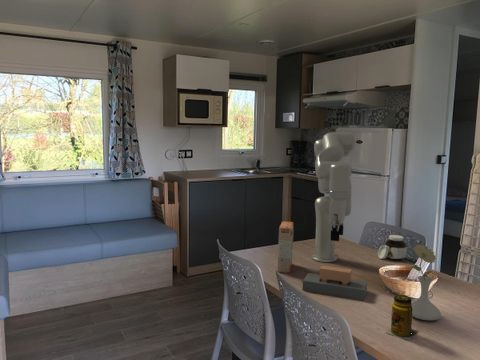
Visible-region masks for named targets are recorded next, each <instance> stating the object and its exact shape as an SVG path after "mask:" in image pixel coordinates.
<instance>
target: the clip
mask: <svg viewBox="0 0 480 360" xmlns="http://www.w3.org/2000/svg"><path fill="white" fill-rule="evenodd" d="M352 271H353V270H352V269H350V268H342V267H336V266H328V265H321V266H320V268H319V274H320V276H319V278H322V282H327V283H328V281H329V280H336V281H342V285H347V286H348V282H350V281H351V279H352Z"/></svg>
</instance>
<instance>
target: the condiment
mask: <svg viewBox="0 0 480 360" xmlns="http://www.w3.org/2000/svg"><path fill="white" fill-rule="evenodd" d="M412 302H413V301H412V298H411V297H410V296H409V295H407V294H395V295H394V297H393V303H392V307H391V321H390V322H391V323H390V324H391V325H390V326H391V327H390V329H388V330H387V332H386V334H389V335H392V336H394V337H397V338H400V339H405V340H407V341H410V340H411V339H412V338H413V337H414V336H415V334H416V333H418V329H414V328H412V325H413V322H412V321H413V316H412V310H413V308H412V306H411V305H412ZM390 332H391V333H390ZM411 333H412V334H411Z"/></svg>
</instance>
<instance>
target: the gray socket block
mask: <svg viewBox="0 0 480 360" xmlns="http://www.w3.org/2000/svg"><path fill="white" fill-rule="evenodd" d="M319 276H320V273H311V272H308V273H307V274H306V276H305V277H304V278H303V280H302V291H305V292H312V293H317V294H323V295H330V296H331V295H332V296H337V297H343V298H347V299H349V298H350V299H354V300H359V301H361V300H362V301H365V299H366V295H367V292H368V281H367V280H361V279H353V278H351V281H350V282H348V286H347V285H342V281H336V280H329V281H328V283H327V282H322V278H319Z"/></svg>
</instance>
